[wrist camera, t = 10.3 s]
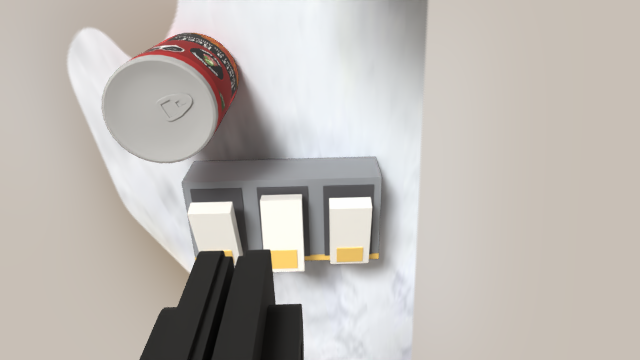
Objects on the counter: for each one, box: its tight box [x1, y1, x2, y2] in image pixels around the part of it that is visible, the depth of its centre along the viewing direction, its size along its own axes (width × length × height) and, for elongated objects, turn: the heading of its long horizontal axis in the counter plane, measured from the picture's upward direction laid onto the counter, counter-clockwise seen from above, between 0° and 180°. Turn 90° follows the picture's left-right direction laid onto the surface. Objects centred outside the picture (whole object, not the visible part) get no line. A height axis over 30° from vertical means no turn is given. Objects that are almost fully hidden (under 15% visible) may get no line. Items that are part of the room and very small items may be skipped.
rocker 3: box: [329, 197, 372, 264], centre depth 40 cm, size 7×4×2 cm, turn 1°
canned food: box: [102, 33, 238, 163], centre depth 36 cm, size 8×8×11 cm
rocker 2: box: [260, 194, 305, 272], centre depth 40 cm, size 7×4×2 cm, turn 1°
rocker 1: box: [187, 202, 243, 265], centre depth 40 cm, size 7×4×2 cm, turn 1°
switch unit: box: [182, 157, 382, 261], centre depth 44 cm, size 9×18×5 cm, turn 91°
